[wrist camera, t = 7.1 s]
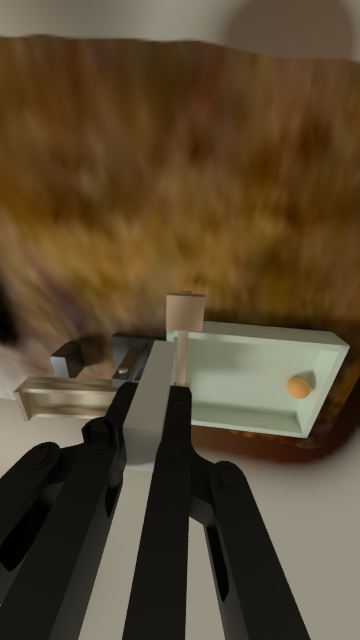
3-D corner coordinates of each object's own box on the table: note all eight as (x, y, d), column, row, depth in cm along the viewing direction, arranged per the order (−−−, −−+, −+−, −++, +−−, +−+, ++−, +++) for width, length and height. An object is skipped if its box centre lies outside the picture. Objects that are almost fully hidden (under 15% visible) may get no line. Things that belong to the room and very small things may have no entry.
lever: (39, 401, 30) (24, 420, 27) (0, 280, 22) (-27, 289, 19) (191, 406, 30) (192, 425, 27) (203, 290, 23) (206, 300, 20)
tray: (167, 403, 39) (164, 421, 35) (170, 318, 31) (166, 329, 28) (296, 417, 37) (306, 438, 34) (332, 331, 30) (350, 346, 26)
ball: (303, 391, 33) (282, 386, 34) (310, 375, 32) (288, 371, 33) (308, 405, 30) (285, 400, 31) (315, 389, 29) (291, 384, 30)
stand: (73, 377, 39) (37, 420, 30) (63, 329, 34) (17, 363, 26) (165, 387, 37) (155, 434, 29) (167, 338, 33) (155, 377, 25)
